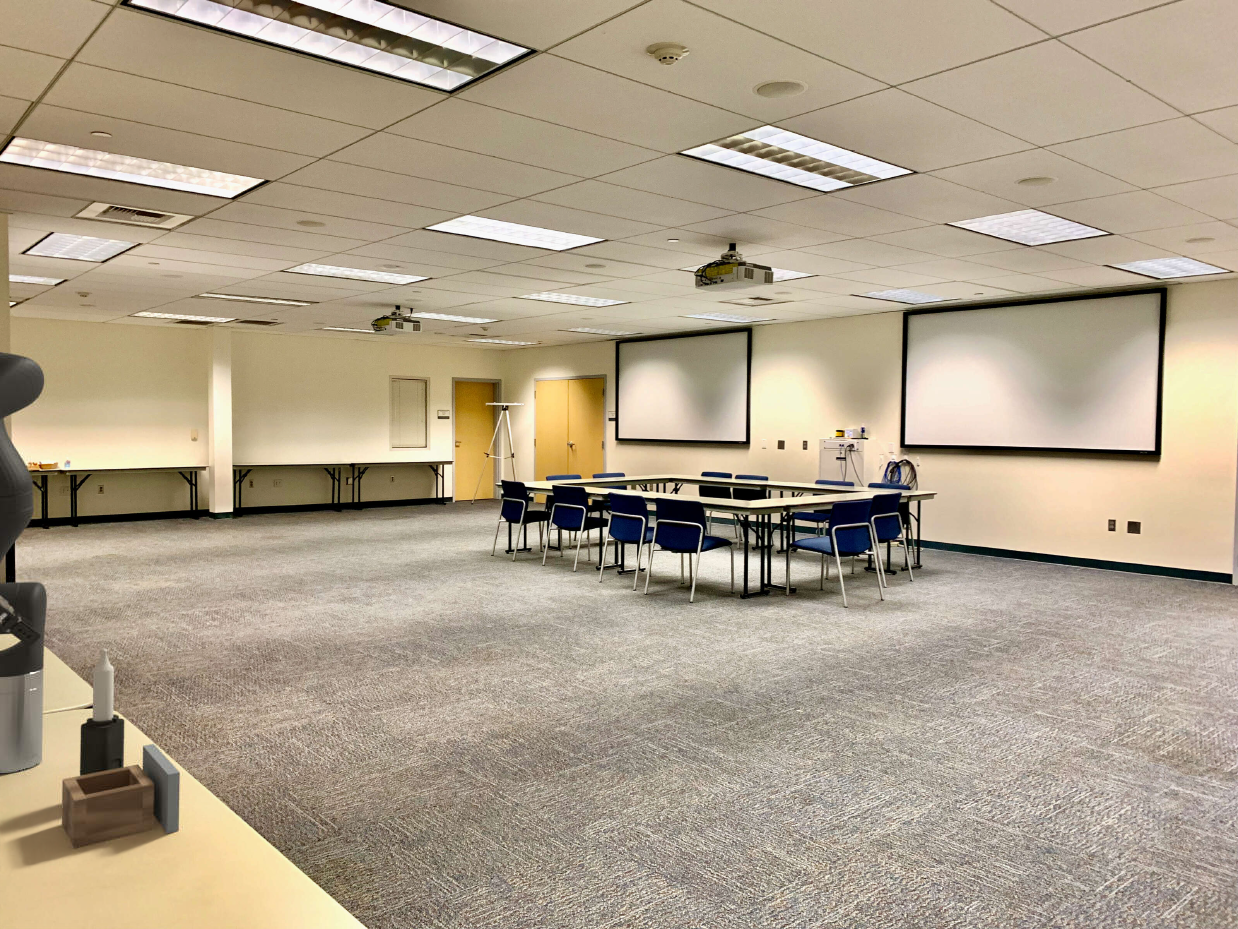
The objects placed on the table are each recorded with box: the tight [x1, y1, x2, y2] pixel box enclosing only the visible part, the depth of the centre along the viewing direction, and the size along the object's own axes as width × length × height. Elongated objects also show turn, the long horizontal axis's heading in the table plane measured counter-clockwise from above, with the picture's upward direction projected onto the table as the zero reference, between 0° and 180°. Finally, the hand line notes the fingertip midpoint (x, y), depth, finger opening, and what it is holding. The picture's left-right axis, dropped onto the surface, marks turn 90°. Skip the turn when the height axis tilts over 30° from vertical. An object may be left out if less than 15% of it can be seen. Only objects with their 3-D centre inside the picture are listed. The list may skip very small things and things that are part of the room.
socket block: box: [61, 764, 154, 849], centre depth 132 cm, size 10×10×7 cm
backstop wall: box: [142, 743, 181, 834], centre depth 137 cm, size 16×2×9 cm, turn 41°
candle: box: [79, 648, 125, 776], centre depth 142 cm, size 5×5×25 cm
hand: (31, 636), depth 135 cm, fingers open, 8 cm apart
